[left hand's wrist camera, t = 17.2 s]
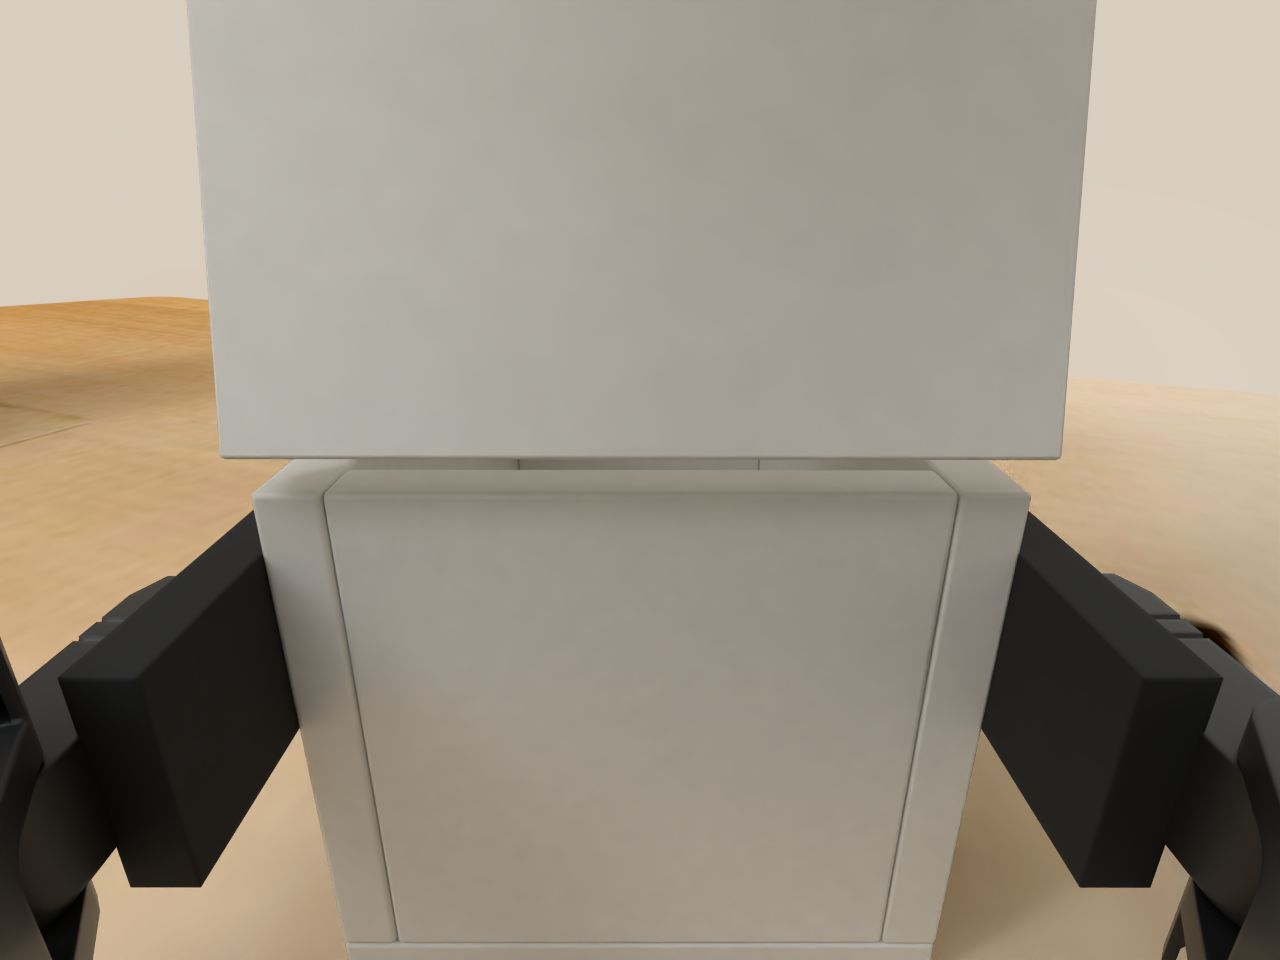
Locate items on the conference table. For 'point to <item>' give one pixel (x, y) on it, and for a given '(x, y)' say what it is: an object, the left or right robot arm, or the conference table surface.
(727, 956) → the chest
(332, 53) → the lid
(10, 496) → the conference table surface
